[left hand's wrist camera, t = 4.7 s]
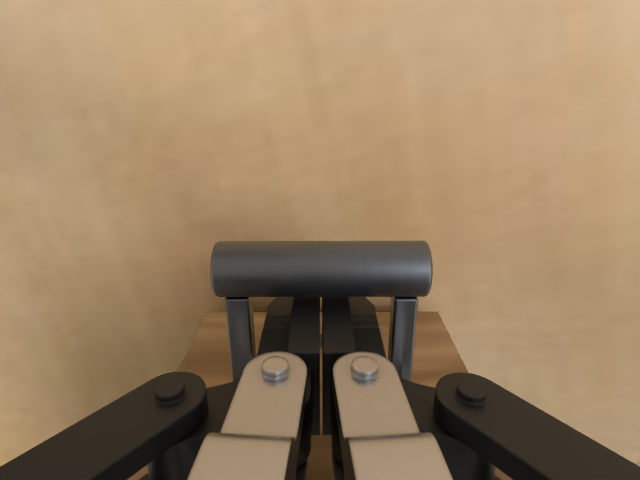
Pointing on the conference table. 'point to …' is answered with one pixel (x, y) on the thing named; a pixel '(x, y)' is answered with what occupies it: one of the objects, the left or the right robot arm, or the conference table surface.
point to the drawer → (321, 281)
